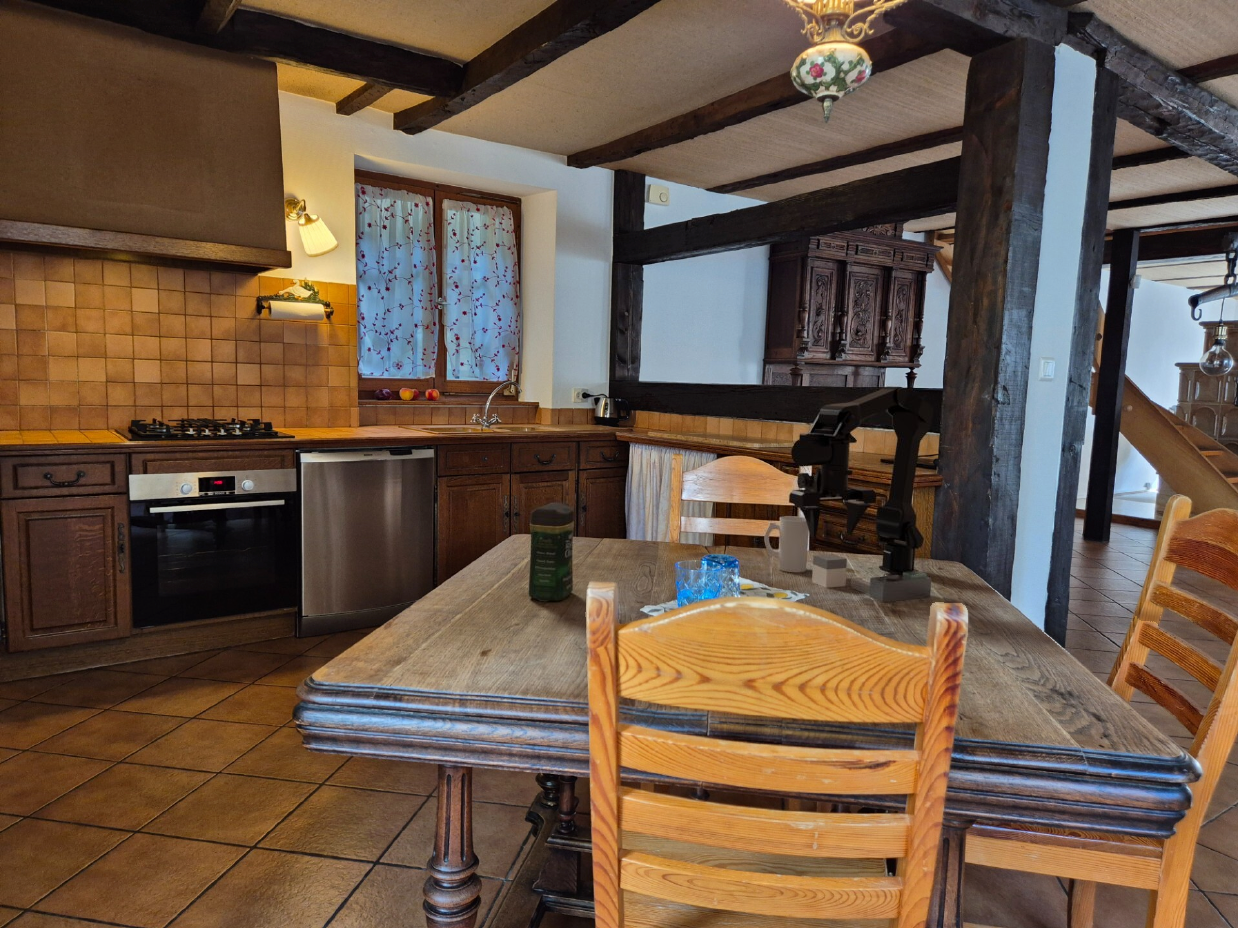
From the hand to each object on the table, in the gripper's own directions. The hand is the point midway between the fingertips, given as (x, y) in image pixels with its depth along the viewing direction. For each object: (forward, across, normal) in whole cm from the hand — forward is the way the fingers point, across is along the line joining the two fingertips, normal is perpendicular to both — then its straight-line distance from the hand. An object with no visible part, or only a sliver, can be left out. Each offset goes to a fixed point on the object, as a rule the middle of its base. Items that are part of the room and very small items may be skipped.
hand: (831, 536), depth 164 cm
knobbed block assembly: (+10, -8, +11) cm, 17 cm away
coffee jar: (+10, +60, -8) cm, 62 cm away
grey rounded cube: (+11, 0, 0) cm, 11 cm away
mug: (+11, +2, -14) cm, 18 cm away
